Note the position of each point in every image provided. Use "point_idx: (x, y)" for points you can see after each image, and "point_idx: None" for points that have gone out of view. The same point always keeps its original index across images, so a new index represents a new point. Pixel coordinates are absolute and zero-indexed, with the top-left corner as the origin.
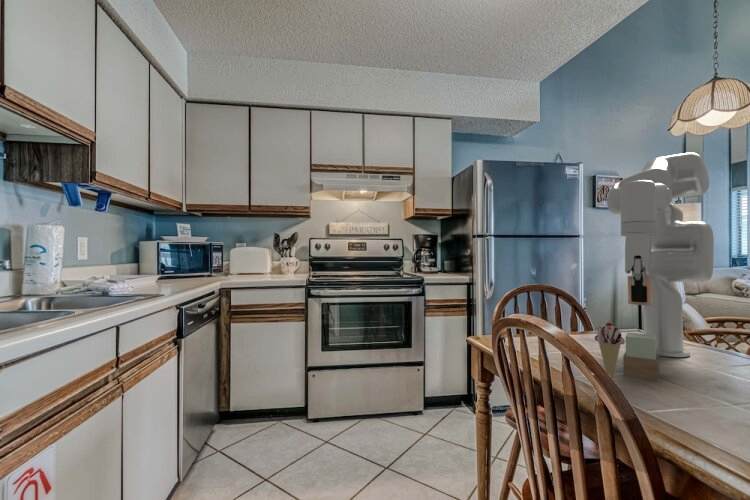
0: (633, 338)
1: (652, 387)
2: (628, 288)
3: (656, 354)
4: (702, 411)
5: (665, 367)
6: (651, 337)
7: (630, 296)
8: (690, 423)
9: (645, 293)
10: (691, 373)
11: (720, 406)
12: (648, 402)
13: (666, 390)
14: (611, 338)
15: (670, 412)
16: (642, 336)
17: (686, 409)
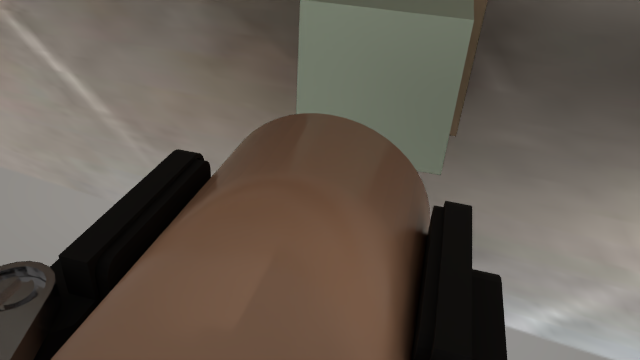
0: (300, 43)
1: (239, 48)
2: (207, 215)
3: (456, 126)
4: (107, 139)
5: (598, 141)
6: None
7: (222, 170)
8: (4, 95)
9: None
10: (525, 211)
11: None
12: (74, 19)
13: (233, 87)
14: None
15: (40, 65)
16: (353, 98)
17: (93, 107)
